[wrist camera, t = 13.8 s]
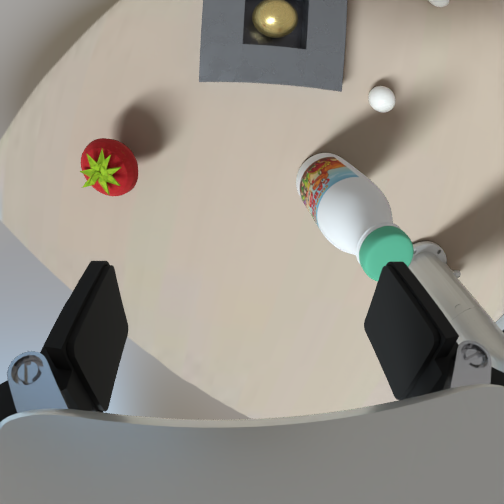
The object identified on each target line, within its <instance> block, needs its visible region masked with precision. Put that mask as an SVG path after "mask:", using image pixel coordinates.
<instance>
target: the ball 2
mask: <svg viewBox="0 0 504 504" xmlns="http://www.w3.org/2000/svg"><path fill="white" fill-rule="evenodd" d="M428 1H429V2H430V3H431V4H432V5H434V6H436V7H445V6H447V5H448V3H449V0H428Z"/></svg>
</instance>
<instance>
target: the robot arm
mask: <svg viewBox="0 0 504 504" xmlns="http://www.w3.org/2000/svg"><path fill="white" fill-rule="evenodd" d="M413 249H414V253H413V258H412V261H411V263H410V265H409V267H408V266H407V265H406V264H405V263H404V262H388V263H387V264H386V266H383V268H382V270H381V274H380V277H379V280H378V283H377V286H376V289H375V293H374V296H373V299H372V302H371V305H370V307H369V310H368V313H367V316H366V319H365V322H364V328H365V331H366V334H367V336H368V338H369V340H370V342H371V344H372V346H373V349H374V351H375V353H376V355H377V357H378V360H379V362H380V364H381V366H382V369H383V371H384V373H385V375H386V378H387V380H388V382H389V385H390V387H391V389H392V392H393V394H394V396H395V398H396V399H397V400H399V401H394V402H390V403H385V404H380V405H374V406H369V407H363V408H357V409H351V410H344V411H337V412H330V413H322V414H314V415H304V416H294V417H282V418H266V419H244V420H189V419H168V418H153V417H140V416H128V415H118V414H110V413H103V411H107V409H108V406H109V402H110V398H111V394H112V390H113V386H114V382H115V378H116V374H117V370H118V367H119V363H120V360H121V356H122V352H123V349H124V345H125V342H126V338H127V335H128V323H127V319H126V316H125V312H124V308H123V304H122V300H121V296H120V292H119V287H118V283H117V278H116V274H115V269H114V267H113V266H112V265H109V263H108V262H107V261H91V262H90V264H89V265H88V267H87V269H86V270H85V272H84V274H83V275H82V277H81V279H80V280H79V282H78V284H77V285H76V287H75V289H74V291H73V292H72V294H71V296H70V298H69V299H68V301H67V302H66V304H65V306H64V307H63V309H62V311H61V313H60V315H59V317H58V319H57V321H56V322H55V324H54V326H53V328H52V330H51V332H50V334H49V336H48V338H47V340H46V342H45V344H44V346H43V348H42V350H41V352H40V353H39V352H35V351H28V352H25V353H22V354H20V355H19V356H17V357H16V358H15V359H14V360H13V361H12V362H11V364H10V365H9V367H8V371H7V377H8V381H6V382H4V383H2V384H0V504H504V333H503V332H502V330H501V329H500V328H499V327H498V326H497V324H496V323H495V322H494V321H493V320H492V318H491V317H490V316H489V315H488V314H487V312H486V311H485V310H484V309H483V308H482V306H481V305H480V304H479V303H478V302H477V300H476V299H475V298H474V297H473V296H472V294H471V293H470V292H469V291H468V290H467V289H466V287H465V286H464V285H463V284H462V283H461V282H460V281H459V280H458V278H459V277H460V271H459V270H453V271H452V270H451V269H450V268H449V266H448V265H447V258H446V254H445V252H444V251H443V249H442V248H441V247H440V246H439V245H437V244H436V243H434V242H430V241H423V242H418V243H415V244H413Z"/></svg>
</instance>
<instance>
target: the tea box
mask: <svg viewBox="0 0 504 504" xmlns="http://www.w3.org/2000/svg"><path fill="white" fill-rule="evenodd" d="M496 324H497V326H498V327H499V328H500V329H501V330H502V332H503V333H504V314H503V315H502V316H501V317H500V318H499V319H498V320H497V322H496Z"/></svg>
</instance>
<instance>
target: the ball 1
mask: <svg viewBox="0 0 504 504" xmlns="http://www.w3.org/2000/svg"><path fill="white" fill-rule="evenodd" d="M368 99H369V103H370V105H371V106H372V108H373V109H375V110H376V111H378V112H388V111H390V110H392V109H393V107H394V105H395V101H396V100H395V96H394V93H393V92H392V91H391V90H390V89H389V88H387V87H385V86H377V87H374V88H373V89H372V90H371V91H370V93H369V96H368Z"/></svg>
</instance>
